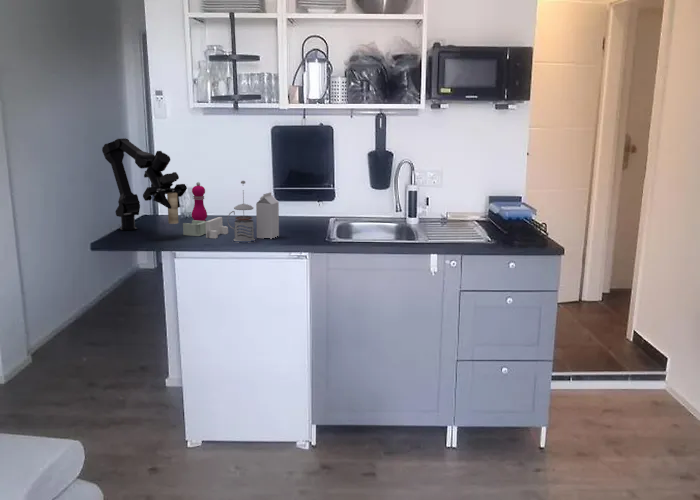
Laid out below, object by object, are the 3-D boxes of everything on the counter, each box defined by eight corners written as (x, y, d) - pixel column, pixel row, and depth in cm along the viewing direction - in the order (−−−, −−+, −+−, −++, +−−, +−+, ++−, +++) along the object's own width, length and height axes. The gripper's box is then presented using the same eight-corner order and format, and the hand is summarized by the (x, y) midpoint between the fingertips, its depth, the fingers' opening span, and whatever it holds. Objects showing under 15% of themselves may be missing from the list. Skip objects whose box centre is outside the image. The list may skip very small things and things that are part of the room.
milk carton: (279, 236, 275) (278, 192, 271) (271, 239, 268) (271, 194, 264) (264, 235, 277) (263, 191, 273) (256, 238, 270) (255, 193, 266)
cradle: (183, 235, 274) (182, 223, 273) (193, 231, 282) (193, 220, 281) (199, 236, 272) (198, 224, 271) (208, 232, 281) (208, 221, 280)
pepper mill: (203, 226, 296) (202, 183, 291) (189, 225, 297) (187, 182, 293) (210, 223, 303) (208, 181, 298) (195, 222, 304) (194, 181, 300)
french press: (256, 242, 262) (255, 181, 257) (227, 243, 260) (226, 181, 255) (255, 237, 272) (254, 179, 266) (228, 238, 270) (226, 179, 264)
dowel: (167, 222, 265) (166, 192, 263) (177, 221, 267) (175, 192, 265) (169, 224, 262) (168, 193, 259) (179, 223, 264) (178, 193, 261)
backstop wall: (206, 237, 270) (205, 221, 268) (219, 232, 281) (218, 217, 280) (215, 238, 269) (215, 222, 267) (228, 233, 280) (227, 217, 278)
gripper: (145, 167, 255) (163, 197, 250) (183, 164, 269) (201, 193, 265) (135, 185, 261) (152, 215, 257) (172, 181, 276) (190, 209, 271)
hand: (174, 207), depth 262 cm, fingers closed on dowel, 4 cm apart
